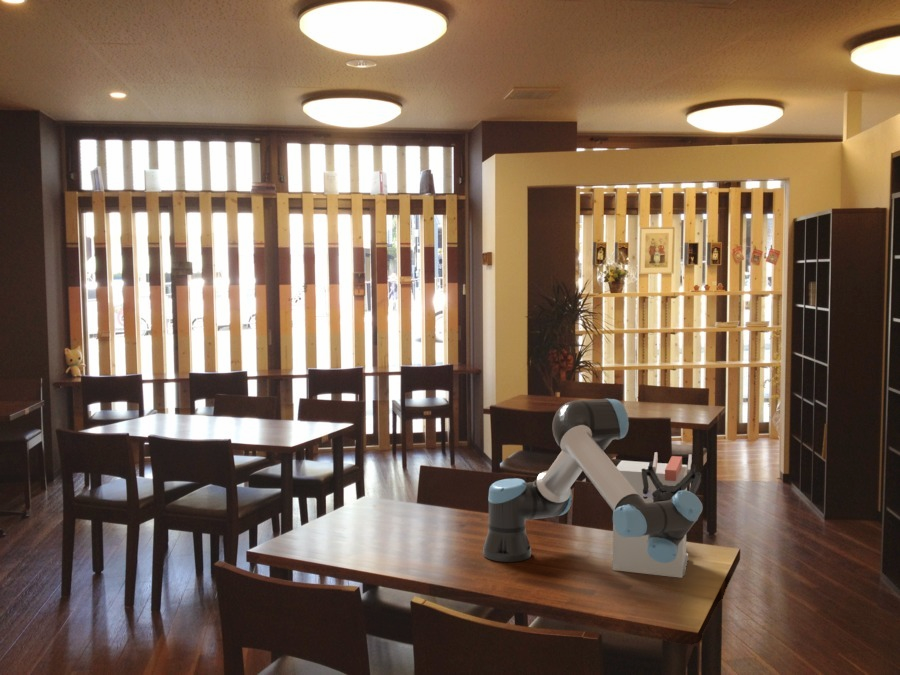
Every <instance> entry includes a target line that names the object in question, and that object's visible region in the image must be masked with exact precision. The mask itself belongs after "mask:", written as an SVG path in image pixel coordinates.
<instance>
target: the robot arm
mask: <svg viewBox="0 0 900 675" xmlns="http://www.w3.org/2000/svg"><path fill="white" fill-rule="evenodd" d="M551 424H552V429H551V430H552V435H553V438H554V440H555V442H556V444H557V446H558V447H560V449H561V451H560V453H559V454H558V455H557V457H556V459H555V460H553V461H554V462H552V464H551V465H550V467H549V468H548V470H544V471H542V472H540V473H539V474H538V475H537V477H536V479H535V480H534V481H530V482H526V481H525V480H524V479H522V478H516V477H515V478H504V479H500V480H496V481H494V482H493V483H491V485H490V486H489V489H488V496H487V497H488V498H487V499H488V531H487V533H486V534H487V535H486V538H485V541H484V544H483V548H482V555H483V557H484V558H485V559H487V560H490V561H494V562H500V563H516V562H517V563H518V562H522V561H526V560H529V559H530V558H531V556H532V547H531V544H530V542H529V537H528V535H527V530H526V529H527V528H526V524H527V523H526V521H531V520H537V519H545V518H556V517H560V516H563V515H565V514H566V513H568V511H569V510H570V508H571V506H572V500H573V493H572V489H571V487H572V486H573V484H574V483H575V482H576V480H577V479H578V478H579V476H580V475H581V473H582V472H583V473H584V475H585V476H586V477H587V478H588V480H589V481H590V482H591V483H592V485H593V487H594V488H595V489H596V490H597V491H598V492H599V494H600V495H601V497H602V498H603V500H604V501H605V502H606V503H607V505H608V506H609V507H610V509H611V510H612V523H613V524H614V525H615V530H616V531H617V533H618V534H619V535H621V536H622V537H641V536H644V535H649V536H648V540H647V552H648V554H649V556H650V557H651V558H652V559H653V560H656V561H658V562H661V563H669V562H671V561H673V560H674V559H675V558H676V556H677V552H678V545H679V543H680V542H681V541H682V539H683V538H684V536H685V535H686V536H687V533H688V532H689V531H690V530H691V528H693V525H695V523H696V522H697V521H698V520H699V517H700V515H701V514H702V512H703V508H704V507H703V503H702V502H701V500H700V499H699V497H698V496H697V495H696V493H697V491H698V489H699V487H700V484H701V482H702V473H701V472H700V471H698V472H696V465H695V463H692V462H693V459H692V458H693V456H692V455H693V454H691V453H689V454H688V459H687V460H688V461H687V475H686V476H685V477H684V478H683V479H682V480H681V482H680V483H677V484H676V486H667V485H663V484H662V483H661V482H660V480H659V479H658V477H657V475H656V469H657V463H659V462H658V461H659V459H658V458H659V457H658V455H659V454H658V452H657V451H656V452H654V455H653V461H648V462H649V466H648V469H644V468H643V469H642V480H643V486H644V489H643V498H644V499H647V498H648V497H651V498H653V502H652V503H645V502H644V500H643V499H642V498H641V497H640V496H639V495H638V493H637V492H636V491H635V490H634V488H633V487H632V486H631V485H630V483H629V482H628V481H627V480H626V478H625V477H624V476H623V475H622V474H621V472H620V471H619V470H618V469H617V465H615V464H614V462H613V461H612V460H611V459H610V457H609V456H608V455H607V454H606V453H605V451H604V450H606V448H608V446H609V445H610V444H611V442H612V441H613V440H621V439H624V438H625V437H626V436H627V434H628V431H629V426H630V422H629V415H628V413H627V409H626V408H625V406H624V405H623V403H622V402H621V401H620V400H619V399H616V398H600V399H599V398H598V399H586V400H573V401H572V400H570V401H568V402H566V403H564V404H563V405H561V406H560V407H559V408H558V410H556V411H555V414H554V417H553V420H552V423H551ZM647 476H649V477H650V479H651V481H652V482H653V484H654V486H655V488H656V489H657V490H656V491H654V492H653V493H652V492H651V490H650V488H649V485H648V479H647ZM689 486H690V487H689ZM688 487H689V490H687V491H686V490H685V489H686V488H687V489H688ZM613 511H614V513H613ZM613 524H612V525H613Z"/></svg>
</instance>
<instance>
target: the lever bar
mask: <svg viewBox="0 0 900 675" xmlns="http://www.w3.org/2000/svg"><path fill="white" fill-rule="evenodd" d="M667 464H668V465H667V467H666V469H665V480H666V481H676V480H677V477H678V475H679V472H680V470H681V467H682V465H683V456H679V455H678V456H676V455H671V457H670V459H669V461H668V463H667Z"/></svg>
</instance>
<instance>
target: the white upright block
mask: <svg viewBox="0 0 900 675" xmlns="http://www.w3.org/2000/svg"><path fill="white" fill-rule="evenodd" d="M649 462H650V461H634V460H620V462H618V464H617V465H616V467H617V469H618V470H619V471H620V472H621V474H622V475H623V476H624V477H625V478H626V480H627V481H628V482H629V483H630V485H631V486H632V487H633V488H634V490H635V491H636V492H637V493H638V495H639V496H640V497H641V498H642V499H643V500H644V502H645V503H652V502H653V498H651V497H648V498H647V499H644V498H643V489H644V486H643V480H642V469H643V468H644V469H648V466H649ZM667 465H668V463H666V462H665V463H662V462H657V469H656V475H657V477H658V479H659V480H660V482H661V483H662V484H663V485H667V486H676V484H677V483H680V482H681V480H682V479H683V478H684V477H685V476H686V475H687V474H688V472H687V469H688V464H682V467H681V470H680V472H679V475H678V477H677V480H676V481H666V480H665V469H666V467H667ZM647 479H648V485H649V488H650V490H651V492H652V493H653V492H654V491H656V490H657V489H656V488H655V486H654V484H653V482H652V481H651V479H650V477H649V476H647ZM685 490H686V491H688V487H687V488H686V489H685ZM613 513H614V511H613V510H612V514H613ZM648 536H649V535H644V536H641V537H622V536H621V535H619V534H618V533H617V531H616V530H615V525H614V524H612V561H611V568H612V571H619V572H629V573H637V574H645V575H652V576H653V575H655V576H665V577H670V578H679V579H680V578H681V579H682V578H683V577H684V576H685V575H686V571H687V567H688V562H687V561H689V553H688V552H687V534H686V535H685V536H684V538H683V539H682V541H681V542H680V543H679V545H678V552H677V556H676V558H675V559H674V560H673V561H671V562H669V563H661V562H658V561H656V560H653V559H652V558H651V557H650V556H649V554H648V552H647V540H648ZM686 566H687V567H686Z"/></svg>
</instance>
